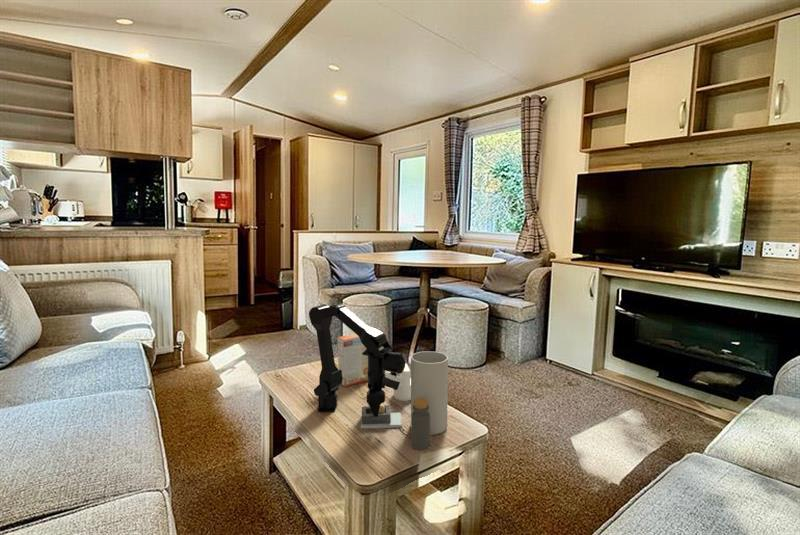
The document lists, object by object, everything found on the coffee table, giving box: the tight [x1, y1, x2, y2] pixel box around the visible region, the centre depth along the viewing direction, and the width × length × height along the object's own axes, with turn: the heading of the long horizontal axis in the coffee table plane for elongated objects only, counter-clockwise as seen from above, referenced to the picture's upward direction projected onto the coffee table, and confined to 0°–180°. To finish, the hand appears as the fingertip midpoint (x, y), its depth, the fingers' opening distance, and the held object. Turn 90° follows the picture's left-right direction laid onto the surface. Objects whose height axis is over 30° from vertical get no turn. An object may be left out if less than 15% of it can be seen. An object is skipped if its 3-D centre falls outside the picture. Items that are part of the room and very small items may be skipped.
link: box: [361, 404, 391, 424], centre depth 151 cm, size 10×7×3 cm
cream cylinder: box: [393, 362, 411, 402], centre depth 173 cm, size 9×9×12 cm
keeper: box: [360, 403, 402, 429], centre depth 151 cm, size 14×9×6 cm, turn 92°
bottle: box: [410, 398, 431, 451], centre depth 135 cm, size 6×6×15 cm
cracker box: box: [336, 333, 368, 388], centre depth 187 cm, size 14×6×21 cm, turn 127°
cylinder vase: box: [410, 350, 449, 436], centre depth 146 cm, size 12×12×25 cm
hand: (376, 410), depth 151 cm, fingers open, 9 cm apart
